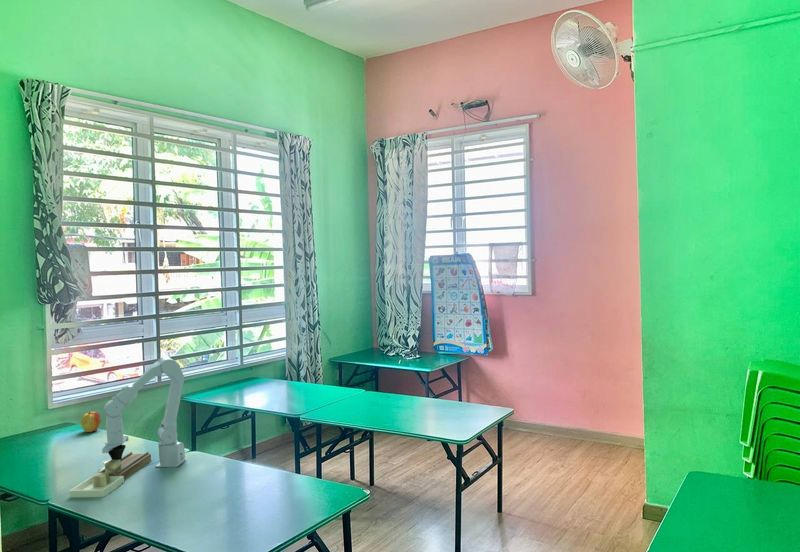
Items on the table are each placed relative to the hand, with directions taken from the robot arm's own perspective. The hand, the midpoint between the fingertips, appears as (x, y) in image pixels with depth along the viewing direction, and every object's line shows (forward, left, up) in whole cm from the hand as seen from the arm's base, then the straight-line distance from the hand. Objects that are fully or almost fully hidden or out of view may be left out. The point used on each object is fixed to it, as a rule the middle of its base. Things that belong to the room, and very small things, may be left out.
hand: (117, 464), depth 225 cm
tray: (0, +13, -4) cm, 14 cm away
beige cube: (0, +3, -1) cm, 4 cm away
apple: (+50, -58, -5) cm, 77 cm away
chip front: (+1, +8, -2) cm, 8 cm away
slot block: (0, -5, -4) cm, 7 cm away
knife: (+13, -10, -5) cm, 17 cm away
